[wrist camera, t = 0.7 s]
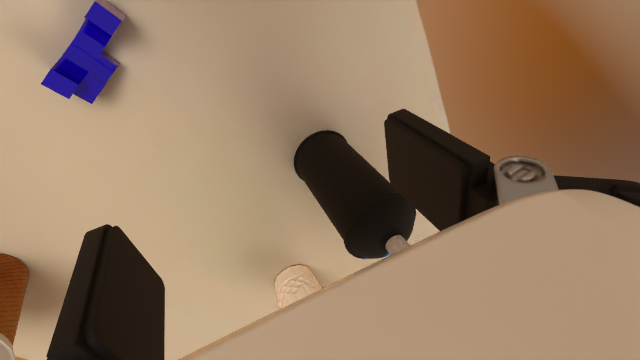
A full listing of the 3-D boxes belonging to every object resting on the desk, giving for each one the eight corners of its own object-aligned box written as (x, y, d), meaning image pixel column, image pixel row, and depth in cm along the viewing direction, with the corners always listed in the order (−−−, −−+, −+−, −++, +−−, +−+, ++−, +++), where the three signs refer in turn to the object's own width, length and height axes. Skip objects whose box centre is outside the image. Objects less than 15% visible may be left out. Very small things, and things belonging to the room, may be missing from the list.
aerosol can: (283, 149, 42) (354, 254, 26) (338, 118, 42) (438, 203, 27) (306, 192, 47) (377, 302, 31) (355, 164, 48) (447, 258, 32)
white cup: (261, 283, 53) (277, 337, 45) (298, 254, 53) (321, 303, 45) (287, 301, 58) (306, 352, 50) (322, 274, 58) (346, 321, 50)
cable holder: (96, 95, 31) (88, 109, 28) (54, 71, 29) (41, 84, 26) (143, 27, 30) (141, 34, 27) (103, -3, 28) (95, 0, 24)
